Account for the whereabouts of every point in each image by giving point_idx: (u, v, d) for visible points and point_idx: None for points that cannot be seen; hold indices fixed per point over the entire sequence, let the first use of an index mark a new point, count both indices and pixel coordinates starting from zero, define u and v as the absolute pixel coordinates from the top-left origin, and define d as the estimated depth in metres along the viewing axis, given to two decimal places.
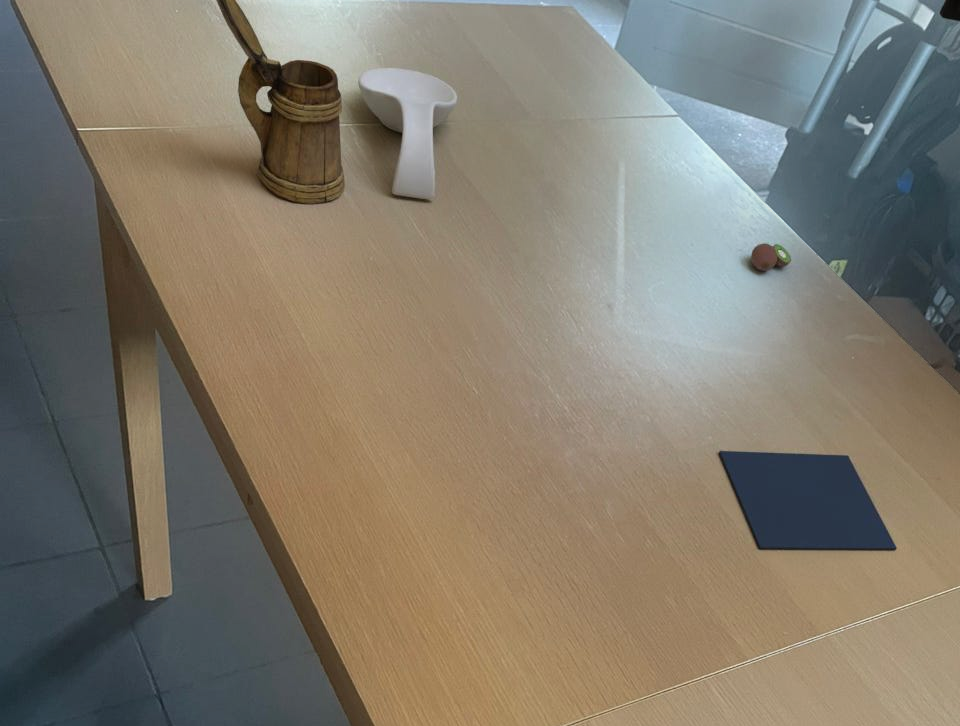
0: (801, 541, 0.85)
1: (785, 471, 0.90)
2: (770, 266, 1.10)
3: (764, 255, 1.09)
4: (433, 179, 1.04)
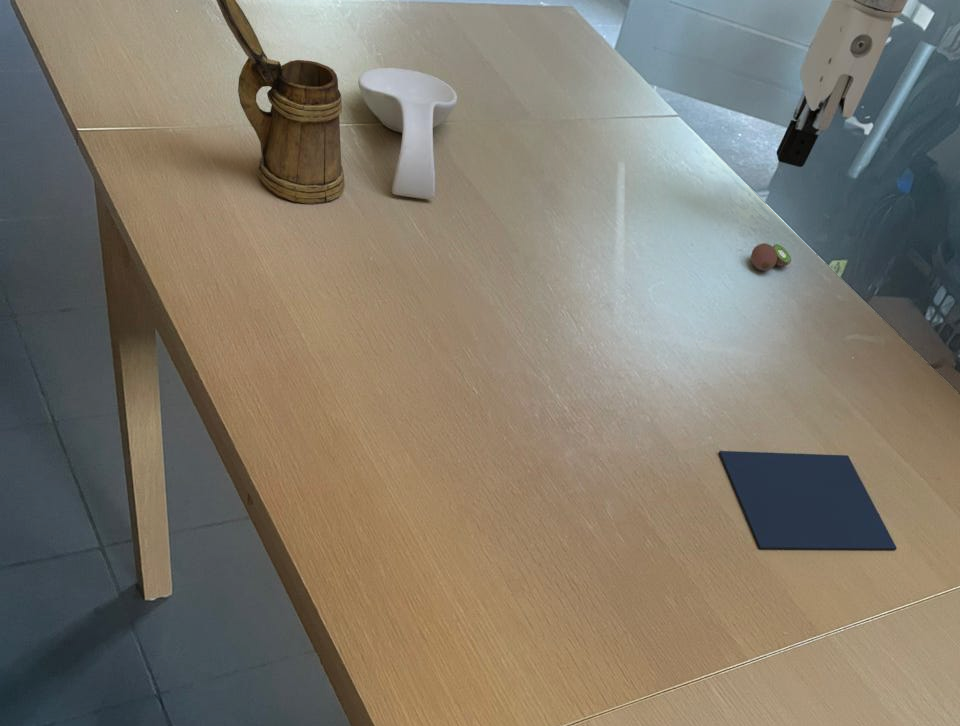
0: (801, 541, 0.85)
1: (785, 471, 0.90)
2: (770, 266, 1.10)
3: (764, 255, 1.09)
4: (433, 179, 1.04)
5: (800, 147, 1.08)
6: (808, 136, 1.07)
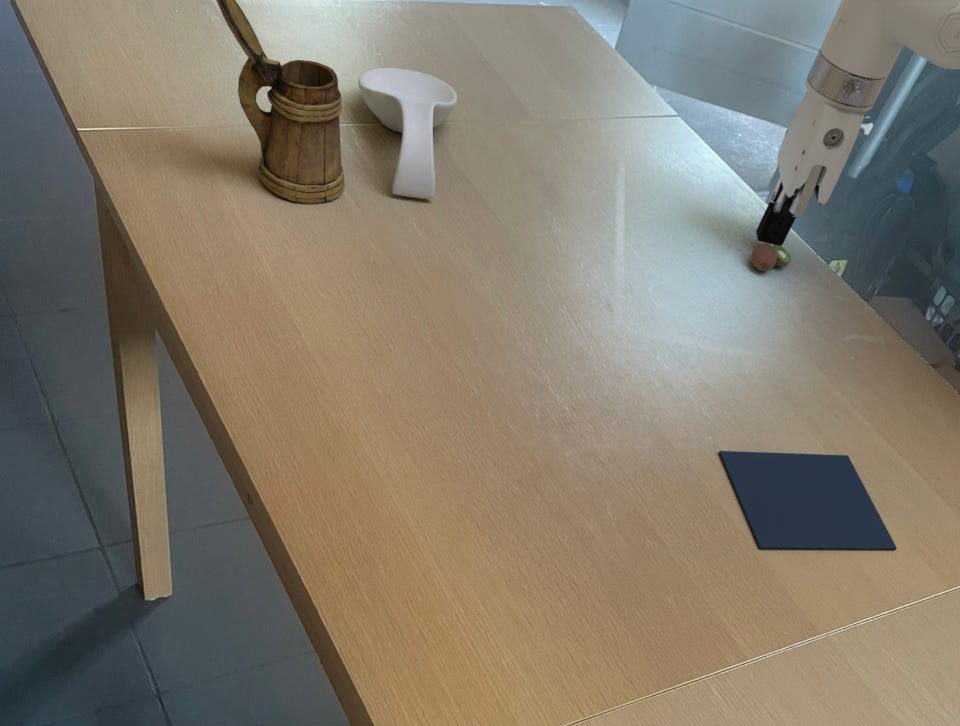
0: (801, 541, 0.85)
1: (785, 471, 0.90)
2: (770, 266, 1.10)
3: (764, 255, 1.09)
4: (433, 179, 1.04)
5: (778, 228, 1.11)
6: (785, 218, 1.10)
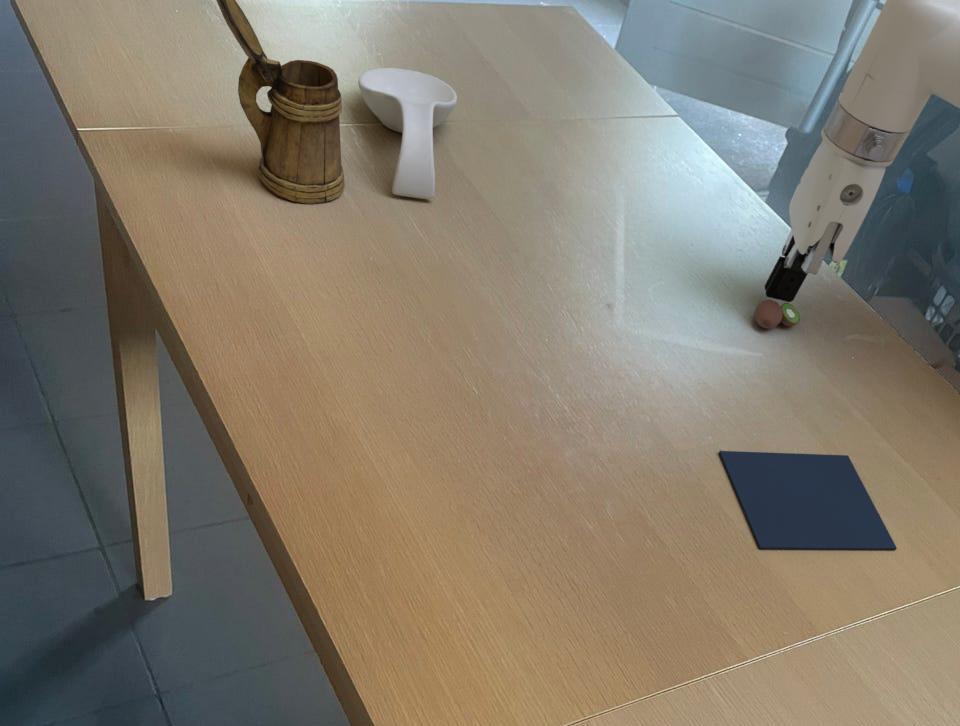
0: (801, 541, 0.85)
1: (785, 471, 0.90)
2: (772, 324, 1.03)
3: (767, 312, 1.02)
4: (433, 179, 1.04)
5: (789, 284, 1.03)
6: (796, 274, 1.02)
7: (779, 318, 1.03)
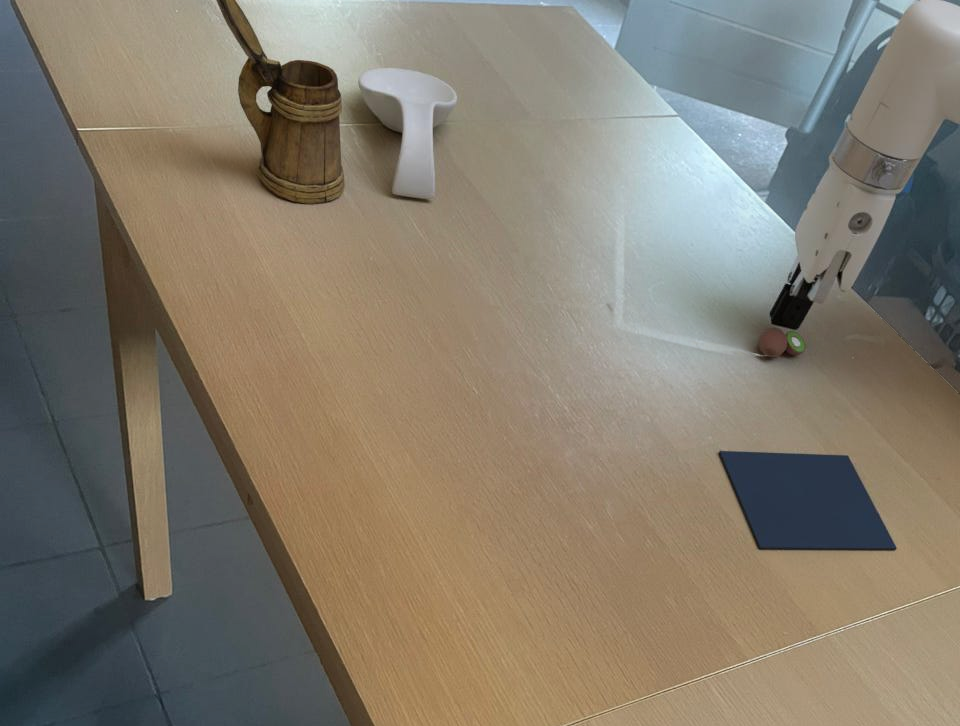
0: (801, 541, 0.85)
1: (785, 471, 0.90)
2: (776, 353, 1.00)
3: (771, 340, 0.99)
4: (433, 179, 1.04)
5: (795, 312, 1.00)
6: (803, 302, 0.99)
7: (783, 347, 1.00)
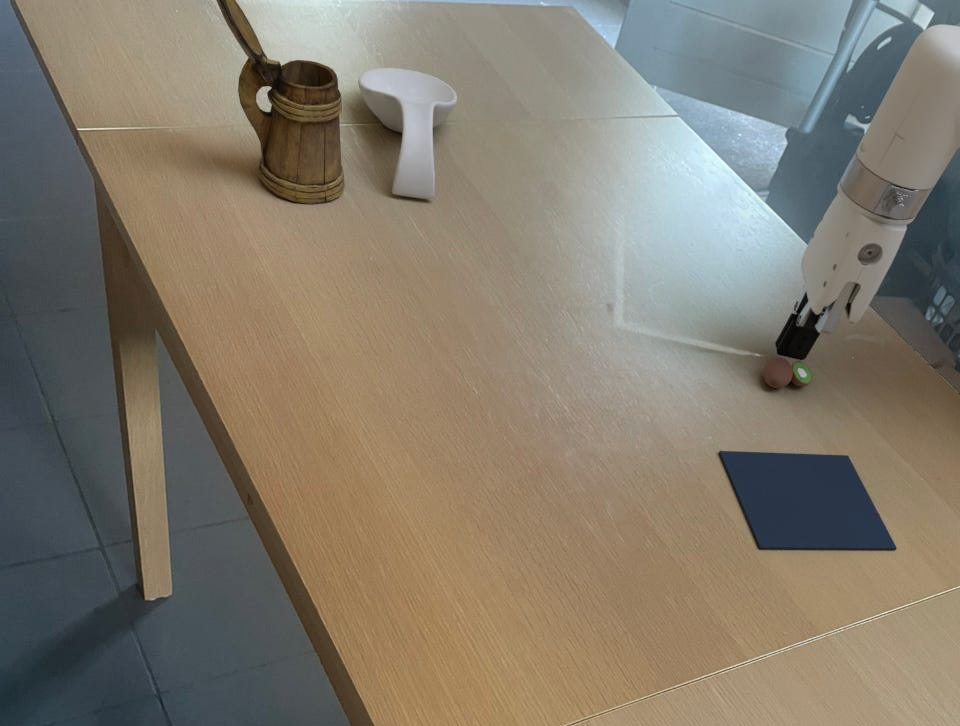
0: (801, 541, 0.85)
1: (785, 471, 0.90)
2: (781, 384, 0.97)
3: (776, 371, 0.96)
4: (433, 179, 1.04)
5: (801, 343, 0.97)
6: (810, 333, 0.96)
7: (788, 378, 0.97)
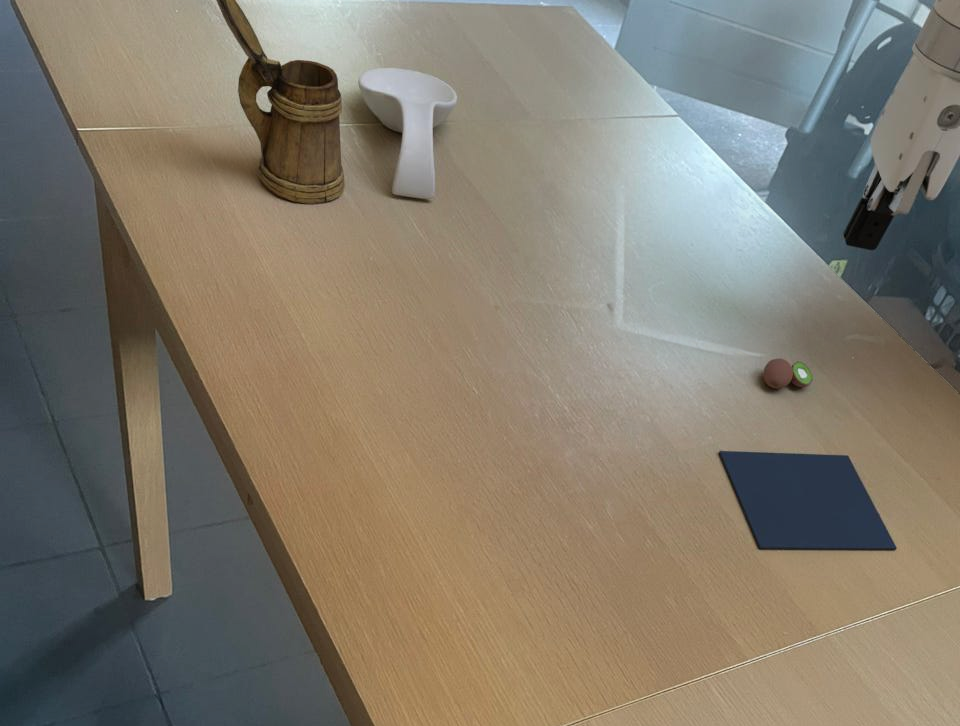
0: (801, 541, 0.85)
1: (785, 471, 0.90)
2: (781, 384, 0.97)
3: (776, 371, 0.96)
4: (433, 179, 1.04)
5: (873, 229, 0.92)
6: (882, 217, 0.91)
7: (788, 378, 0.97)
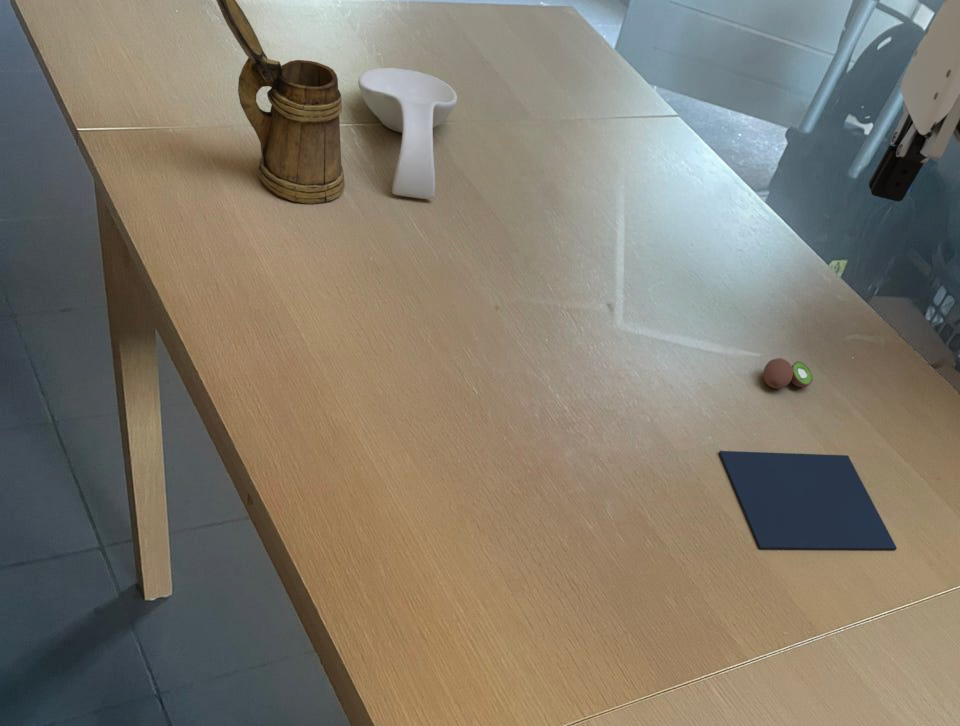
0: (801, 541, 0.85)
1: (785, 471, 0.90)
2: (781, 384, 0.97)
3: (776, 371, 0.96)
4: (433, 179, 1.04)
5: (900, 178, 0.88)
6: (911, 165, 0.87)
7: (788, 378, 0.97)
